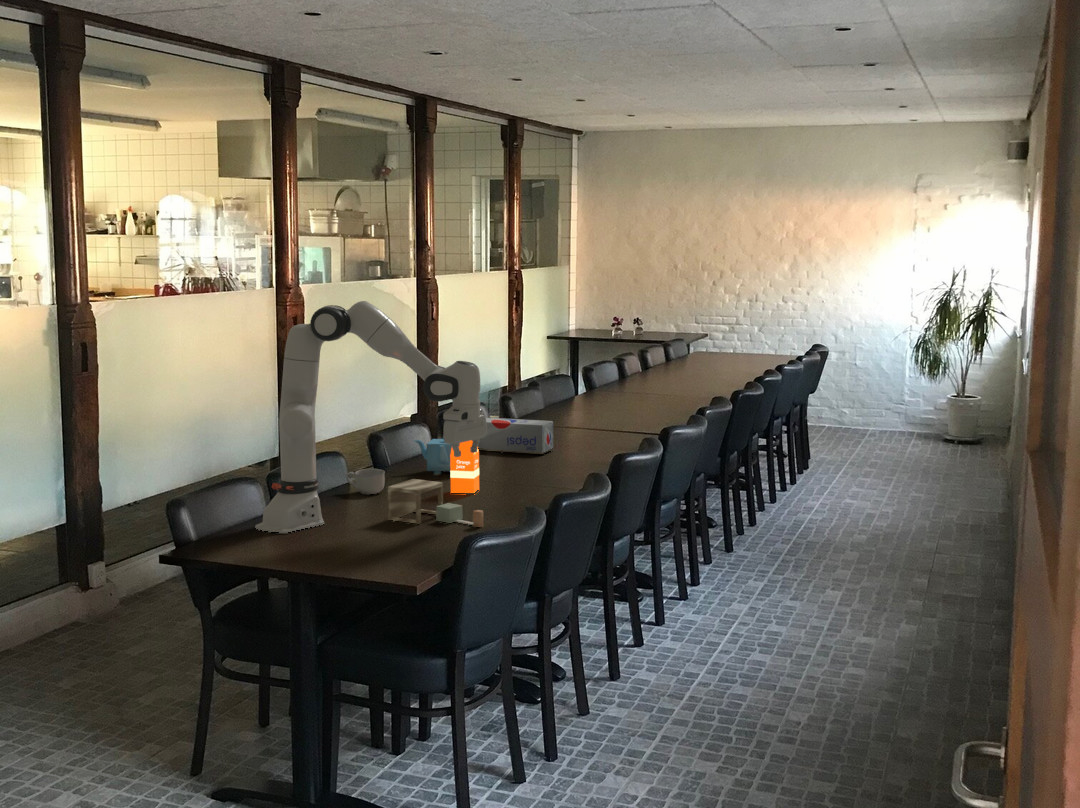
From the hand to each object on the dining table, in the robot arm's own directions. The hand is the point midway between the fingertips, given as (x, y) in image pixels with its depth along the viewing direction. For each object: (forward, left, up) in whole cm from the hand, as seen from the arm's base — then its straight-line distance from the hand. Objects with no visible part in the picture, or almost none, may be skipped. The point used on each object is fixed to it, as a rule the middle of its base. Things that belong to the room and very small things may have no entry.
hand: (465, 454), depth 349 cm
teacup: (+19, +55, -22) cm, 62 cm away
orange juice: (+37, +24, -22) cm, 49 cm away
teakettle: (+63, +50, -22) cm, 83 cm away
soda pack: (+117, +53, -22) cm, 131 cm away
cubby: (-4, +16, -22) cm, 27 cm away
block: (-3, 0, -22) cm, 22 cm away
